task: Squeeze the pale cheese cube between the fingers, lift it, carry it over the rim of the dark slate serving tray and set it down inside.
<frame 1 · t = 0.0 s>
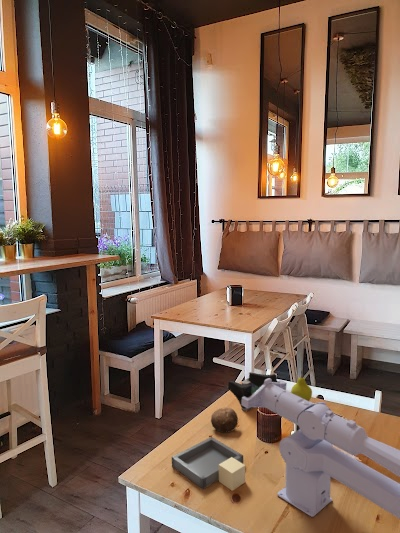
hand: (239, 380, 103), 22 cm above the table, fingers open, 7 cm apart
fruit: (301, 403, 137), on the table
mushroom: (224, 429, 121), on the table
cheese cube: (232, 482, 97), on the table
slate tray: (207, 465, 103), on the table
flask: (251, 406, 136), on the table
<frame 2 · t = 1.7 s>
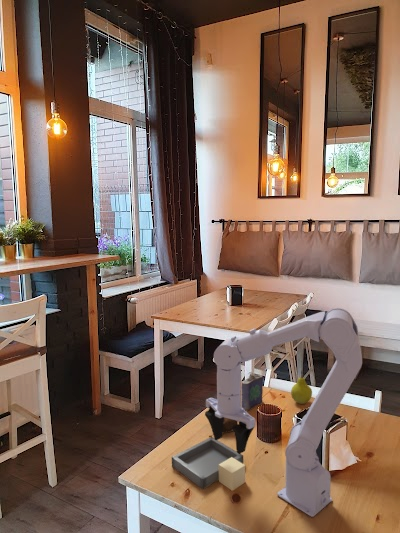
hand: (229, 444, 96), 9 cm above the table, fingers open, 7 cm apart
nothing on the table moved.
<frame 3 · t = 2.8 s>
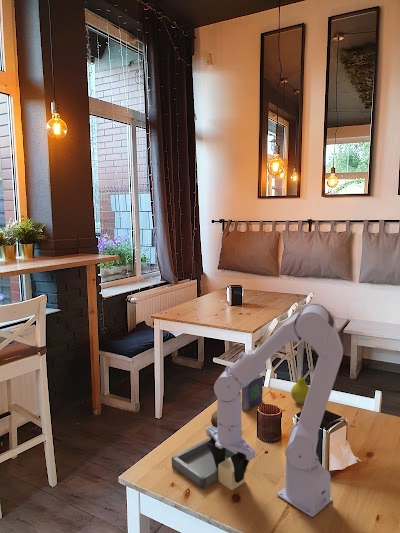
hand: (229, 474, 97), 2 cm above the table, fingers open, 6 cm apart
cheese cube: (231, 481, 97), on the table, touching gripper
everything else where it was.
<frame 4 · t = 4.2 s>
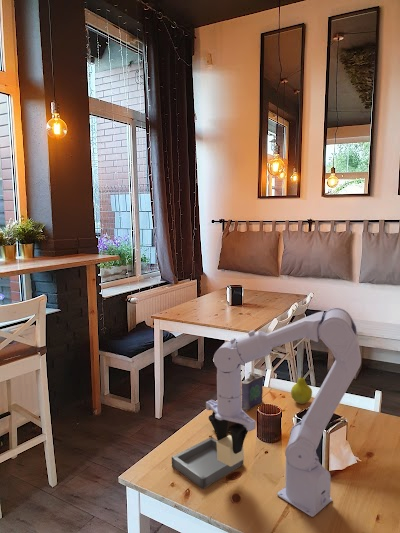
hand: (229, 447, 96), 9 cm above the table, fingers closed on cheese cube, 4 cm apart
cheese cube: (230, 459, 97), point 6 cm above the table, tilted 5°, touching gripper
everything else where it was.
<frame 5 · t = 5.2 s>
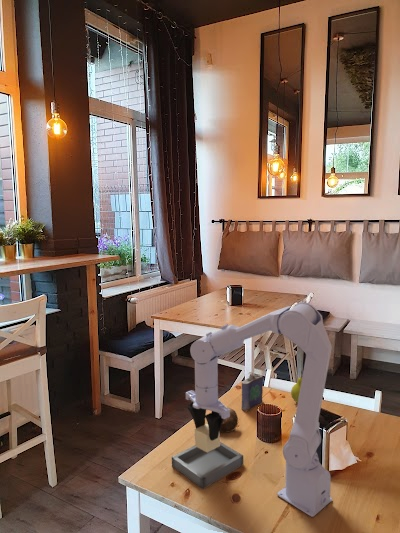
hand: (207, 434, 102), 8 cm above the table, fingers closed on cheese cube, 4 cm apart
cheese cube: (207, 446, 103), point 5 cm above the table, touching gripper
everything else where it was.
when the fingers open (4 cm above the table, at t = 6.4 s): cheese cube stays where it is, resting on slate tray.
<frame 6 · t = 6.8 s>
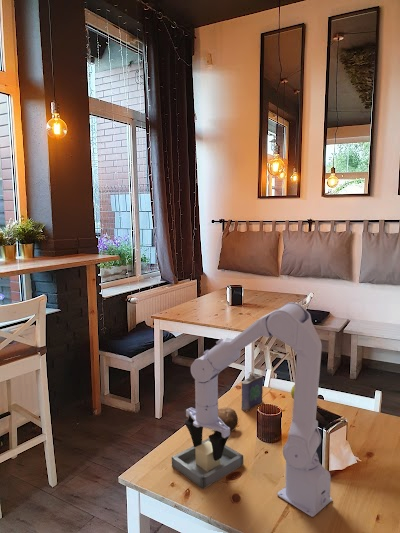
hand: (207, 452, 103), 4 cm above the table, fingers open, 7 cm apart
cheese cube: (208, 463, 103), resting on slate tray
everything else where it was.
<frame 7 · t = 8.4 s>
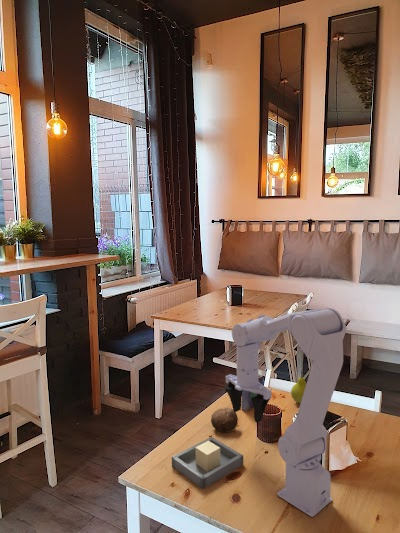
hand: (247, 415, 108), 10 cm above the table, fingers open, 7 cm apart
nothing on the table moved.
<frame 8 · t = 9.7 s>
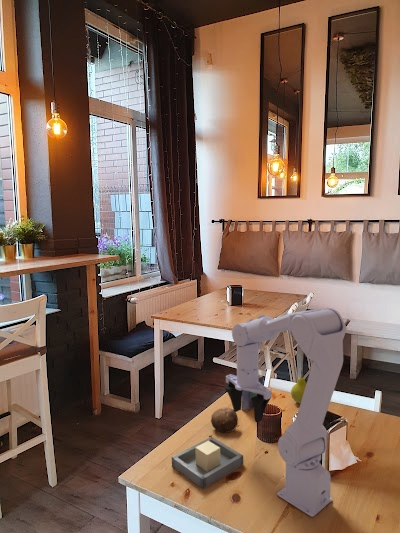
hand: (247, 415, 108), 10 cm above the table, fingers open, 7 cm apart
nothing on the table moved.
at the end: cheese cube inside the target area on the slate tray (0.2 cm from its centre), point 0.5 cm above the slate tray's base; cheese cube tilted 0°; the gripper is holding nothing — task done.
